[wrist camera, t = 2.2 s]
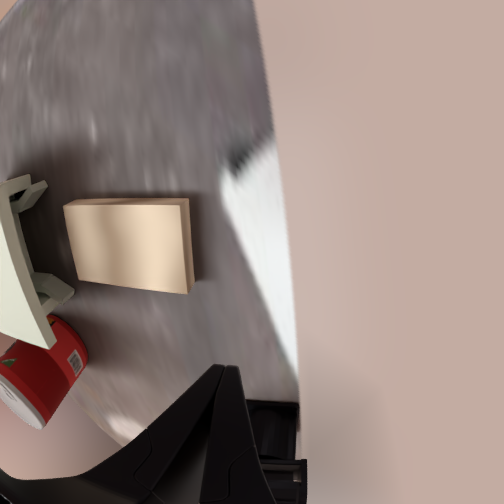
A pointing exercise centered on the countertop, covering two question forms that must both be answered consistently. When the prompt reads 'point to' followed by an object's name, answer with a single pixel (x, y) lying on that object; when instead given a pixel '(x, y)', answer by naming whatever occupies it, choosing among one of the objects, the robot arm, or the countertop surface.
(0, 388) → the canned food
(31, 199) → the pale green angular bracket
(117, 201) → the panel
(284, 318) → the countertop surface
